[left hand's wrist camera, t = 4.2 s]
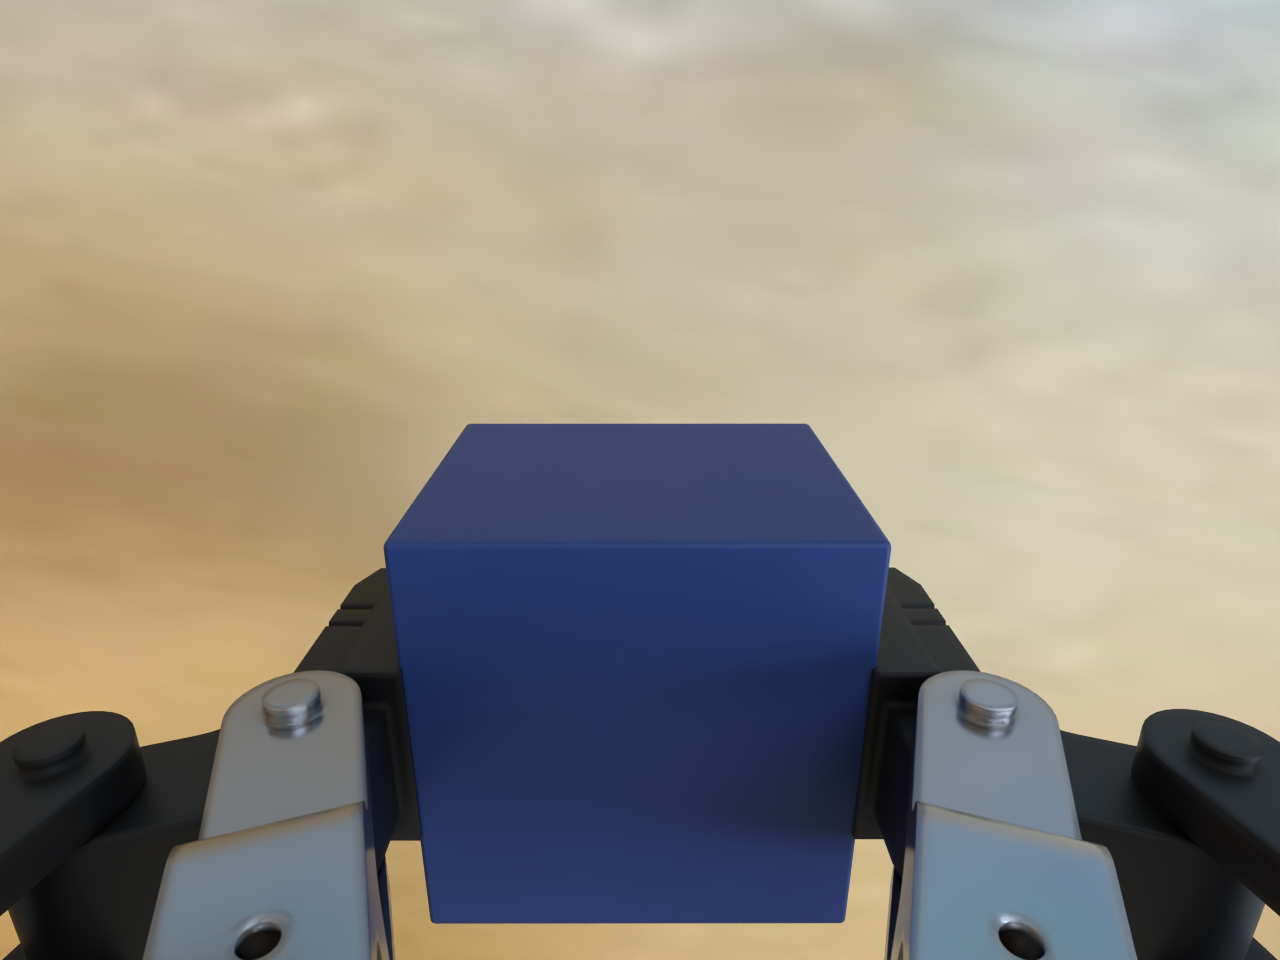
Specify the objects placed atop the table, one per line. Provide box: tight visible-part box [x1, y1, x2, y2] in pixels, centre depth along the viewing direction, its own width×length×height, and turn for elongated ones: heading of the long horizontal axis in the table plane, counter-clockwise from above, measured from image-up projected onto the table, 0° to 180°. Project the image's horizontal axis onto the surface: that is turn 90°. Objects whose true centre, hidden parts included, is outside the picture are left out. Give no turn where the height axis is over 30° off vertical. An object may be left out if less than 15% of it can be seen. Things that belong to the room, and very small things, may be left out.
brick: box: [384, 424, 891, 923], centre depth 10 cm, size 5×5×4 cm
